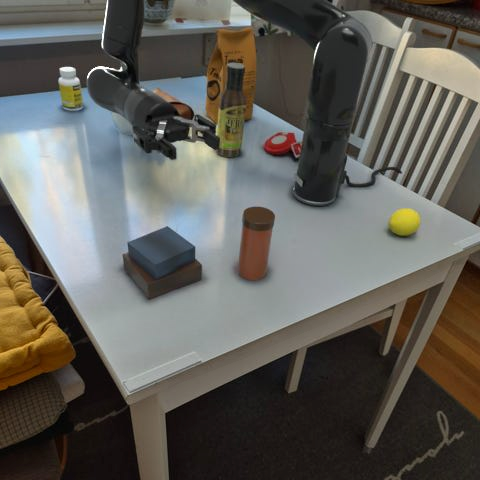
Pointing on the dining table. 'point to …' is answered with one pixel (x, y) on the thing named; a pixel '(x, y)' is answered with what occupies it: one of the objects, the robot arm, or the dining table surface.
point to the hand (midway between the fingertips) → (196, 149)
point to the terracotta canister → (255, 242)
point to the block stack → (161, 262)
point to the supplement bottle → (70, 89)
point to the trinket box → (122, 123)
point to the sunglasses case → (176, 104)
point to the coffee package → (226, 51)
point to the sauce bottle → (232, 112)
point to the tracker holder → (283, 144)
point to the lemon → (404, 221)
